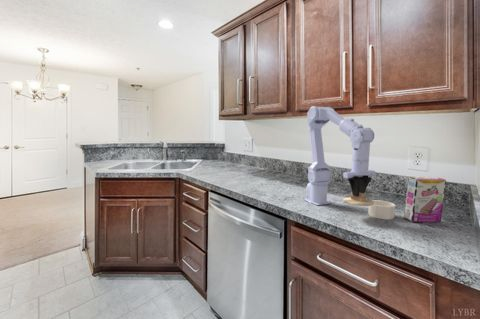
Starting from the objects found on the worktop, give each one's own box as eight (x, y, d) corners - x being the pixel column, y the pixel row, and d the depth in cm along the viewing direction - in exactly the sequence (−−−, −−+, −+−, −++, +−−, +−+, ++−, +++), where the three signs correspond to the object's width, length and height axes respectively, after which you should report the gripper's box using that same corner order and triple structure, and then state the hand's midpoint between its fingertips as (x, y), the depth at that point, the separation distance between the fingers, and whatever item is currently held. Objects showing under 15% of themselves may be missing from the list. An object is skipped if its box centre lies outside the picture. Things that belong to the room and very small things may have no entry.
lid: (337, 200, 99) (337, 191, 99) (356, 197, 104) (357, 189, 103) (359, 207, 90) (360, 197, 90) (379, 204, 94) (380, 194, 94)
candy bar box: (412, 223, 92) (416, 179, 91) (403, 218, 97) (407, 176, 96) (442, 222, 93) (446, 179, 91) (431, 218, 98) (435, 176, 96)
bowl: (363, 213, 103) (364, 201, 102) (378, 210, 106) (379, 199, 106) (383, 220, 94) (384, 207, 94) (399, 217, 98) (400, 205, 98)
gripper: (355, 162, 88) (352, 200, 90) (383, 160, 94) (380, 196, 96) (339, 160, 95) (337, 195, 96) (367, 158, 101) (364, 191, 102)
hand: (358, 195), depth 97 cm, fingers closed on lid, 2 cm apart
